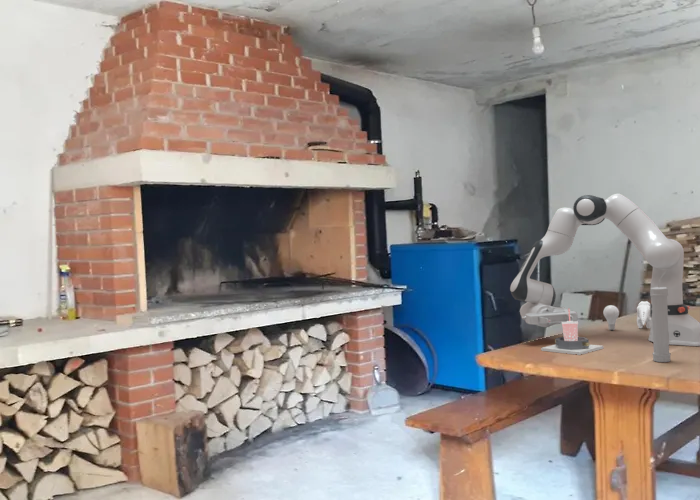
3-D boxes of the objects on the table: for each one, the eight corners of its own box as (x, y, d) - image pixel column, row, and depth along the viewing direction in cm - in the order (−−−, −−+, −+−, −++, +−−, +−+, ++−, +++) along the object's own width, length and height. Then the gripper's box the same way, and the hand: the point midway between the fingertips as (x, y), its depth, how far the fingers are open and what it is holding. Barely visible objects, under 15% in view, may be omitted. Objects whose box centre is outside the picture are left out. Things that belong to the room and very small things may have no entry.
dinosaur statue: (654, 322, 304) (653, 298, 303) (652, 336, 283) (651, 310, 282) (637, 322, 307) (636, 298, 306) (634, 335, 286) (633, 309, 285)
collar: (596, 346, 252) (596, 338, 251) (580, 350, 244) (579, 342, 244) (564, 343, 262) (564, 335, 262) (547, 347, 255) (547, 339, 255)
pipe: (649, 360, 227) (645, 270, 227) (667, 358, 228) (663, 269, 227) (658, 363, 222) (654, 271, 221) (676, 361, 222) (672, 270, 222)
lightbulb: (621, 331, 289) (620, 305, 288) (605, 331, 290) (604, 306, 290) (618, 329, 295) (617, 304, 294) (602, 329, 296) (601, 304, 296)
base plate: (603, 348, 252) (603, 345, 252) (579, 355, 242) (579, 352, 242) (565, 344, 264) (565, 341, 264) (541, 350, 254) (541, 347, 254)
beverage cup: (578, 345, 249) (576, 307, 251) (561, 346, 252) (559, 308, 254) (580, 345, 255) (578, 308, 257) (564, 345, 257) (561, 308, 259)
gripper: (519, 309, 273) (534, 313, 259) (566, 306, 276) (584, 310, 263) (520, 325, 273) (535, 330, 259) (567, 322, 276) (584, 326, 263)
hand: (560, 320), depth 261 cm, fingers open, 8 cm apart
